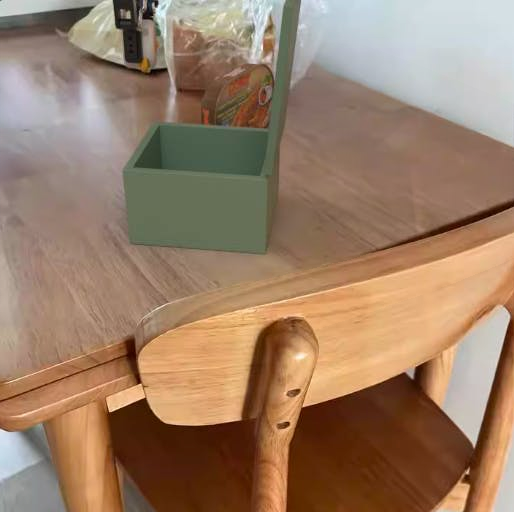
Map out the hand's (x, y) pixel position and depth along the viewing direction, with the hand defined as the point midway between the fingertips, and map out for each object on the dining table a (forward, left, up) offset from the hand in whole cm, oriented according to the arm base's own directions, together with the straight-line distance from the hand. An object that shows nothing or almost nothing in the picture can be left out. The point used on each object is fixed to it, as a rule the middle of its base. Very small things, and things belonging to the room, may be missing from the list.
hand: (140, 54), depth 94 cm
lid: (+20, -27, +7) cm, 35 cm away
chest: (+13, -27, -9) cm, 32 cm away
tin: (+13, -4, -9) cm, 17 cm away
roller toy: (0, 0, -2) cm, 2 cm away
